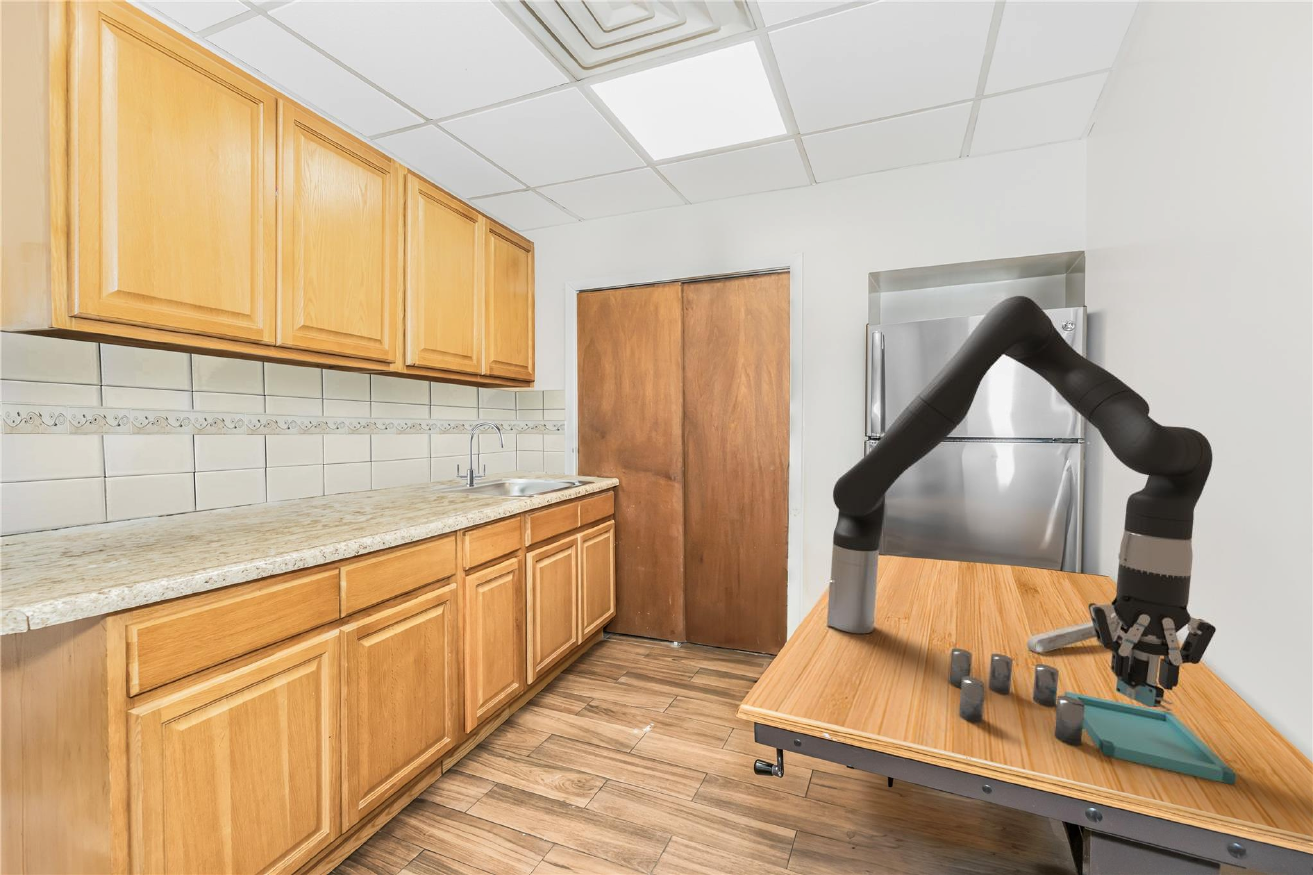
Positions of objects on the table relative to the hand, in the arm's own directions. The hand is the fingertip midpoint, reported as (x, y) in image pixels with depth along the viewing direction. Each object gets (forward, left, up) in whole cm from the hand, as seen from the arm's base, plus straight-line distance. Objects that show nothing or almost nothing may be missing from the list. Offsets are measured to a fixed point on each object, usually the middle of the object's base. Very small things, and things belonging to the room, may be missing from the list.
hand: (1143, 682), depth 76 cm
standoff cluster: (-16, 0, -8) cm, 18 cm away
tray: (0, 0, -8) cm, 8 cm away
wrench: (+5, +37, -8) cm, 39 cm away
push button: (0, 0, -3) cm, 3 cm away
